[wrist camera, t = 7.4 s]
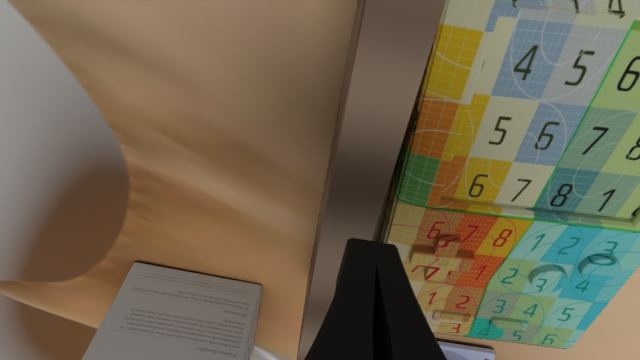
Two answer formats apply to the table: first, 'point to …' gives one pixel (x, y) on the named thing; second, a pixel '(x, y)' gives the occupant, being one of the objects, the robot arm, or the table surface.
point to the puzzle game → (522, 169)
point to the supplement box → (178, 318)
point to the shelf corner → (367, 136)
